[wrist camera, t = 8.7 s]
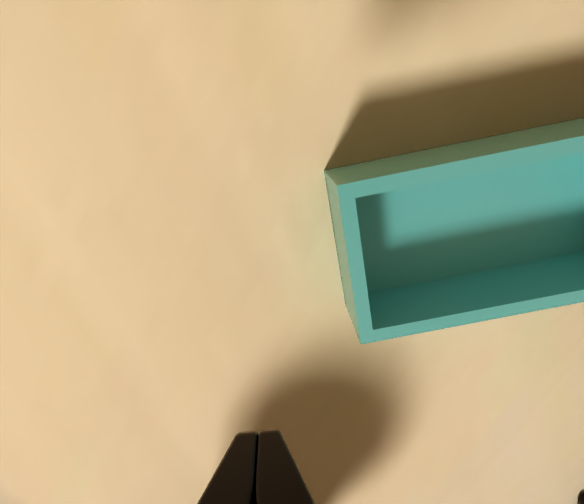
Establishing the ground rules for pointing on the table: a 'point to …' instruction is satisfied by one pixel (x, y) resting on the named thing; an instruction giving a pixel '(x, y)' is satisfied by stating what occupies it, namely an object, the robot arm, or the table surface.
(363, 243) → the tray
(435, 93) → the table surface
